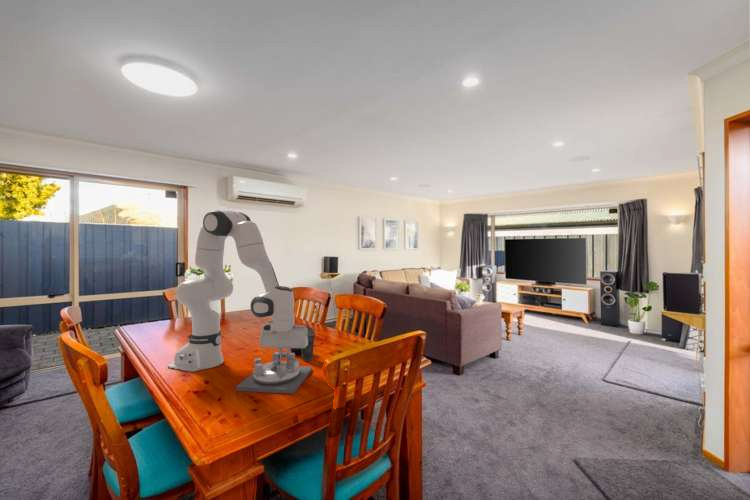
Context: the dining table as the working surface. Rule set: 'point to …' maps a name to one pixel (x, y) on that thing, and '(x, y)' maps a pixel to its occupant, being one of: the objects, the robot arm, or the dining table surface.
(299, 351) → the coffee mug
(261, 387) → the base plate
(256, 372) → the grey round pegged disc
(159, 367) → the dining table surface
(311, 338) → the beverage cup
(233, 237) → the robot arm
